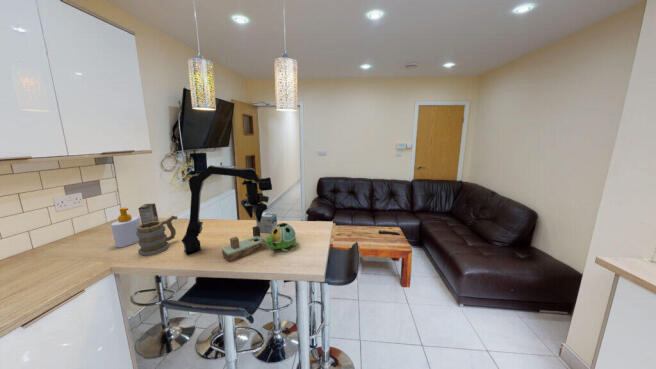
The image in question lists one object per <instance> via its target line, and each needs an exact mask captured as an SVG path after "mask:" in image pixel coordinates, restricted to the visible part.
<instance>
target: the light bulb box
mask: <svg viewBox="0 0 656 369" xmlns="http://www.w3.org/2000/svg"><path fill="white" fill-rule="evenodd" d="M277 217H278V216H277V212H265V211H264V212H263V213H262V217H261V221H260V222H258V220H257V218H256V217H255V221H256V222H255V223H256V226H258V227H260V233H261V234H264V233H265V234H271V232H272V230H273V228H274V227H275V226H276V225H278V218H277Z"/></svg>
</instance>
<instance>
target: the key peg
mask: <svg viewBox="0 0 656 369" xmlns="http://www.w3.org/2000/svg"><path fill="white" fill-rule="evenodd" d="M252 235H253V236H252V237H254V236H257V235H258V236H259V237H261V232H260V227H258V226H257V225H255V226H253V227H252ZM256 241H259V240H258V239H255V240H253V242H256Z"/></svg>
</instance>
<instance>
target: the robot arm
mask: <svg viewBox="0 0 656 369" xmlns="http://www.w3.org/2000/svg"><path fill="white" fill-rule="evenodd" d="M212 175H219V176H229V177H237V178H240V179H243V181H242V182H241V185H242V186H244V185H245V189H246V193H245V197H247V198H245V199H242V200H241V201H240V205H241V206H242V208H243V209H244V210H245V211H246V212H245V213H247V215H248V217H249V218H250V219H251V218H253V216H255V219H256V218H257V220H258V222H260V221H261V217H262V213H263V212H264V213H265V211H267V209H268V205H267V204H268V203H269V199H270V198H269V196H266V195H264V193H262V192H264V191H265V192H267V191H272V190H273V184H272V181H271V179H272V178H271V177H269V176H268V177H264V178H261V177H260V176H259V175H258V174H257V172H256V169H254V167H253V168H252V167H242V168H236V167H227V166H226V167H225V166H219V165H217V166H215V165H212V164H211V165H209V166H207V167H206V168H205V169H204V170H202V171H201V172H200V173H194V174H193V175H192V176H190V178H189V179H188V186H189V189H190V193H191V194H190V209H189V212H190V213H189V222H188V225H187V227H186V232H185V234H184V236H183V237H182V239H181V243H182V244H183V248H184V249H183V252H184V253H185V254H186V256H188V255H192V254H195V253H198V252H201V251H202V247H201V241H200V240H199V238H198V237H199V235H200V234H201V233H202V230H203V223H204V221H201V220H200V210H201V209H200V208H201V193H202V190H203V186H204V184H205V180H207V179H208V178H209V177H210V176H212ZM259 190H260V191H261V192H259ZM266 203H267V204H266ZM253 214H254V215H253Z"/></svg>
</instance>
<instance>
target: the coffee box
mask: <svg viewBox="0 0 656 369" xmlns="http://www.w3.org/2000/svg"><path fill="white" fill-rule="evenodd" d="M137 209H138V213H139V219H140V224H144V223H147V222H152V221H160V220H159V217H158V216H159V215H158V210H157V206H156V203H144V204H143V205H141V206H140V207H138V208H137Z"/></svg>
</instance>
